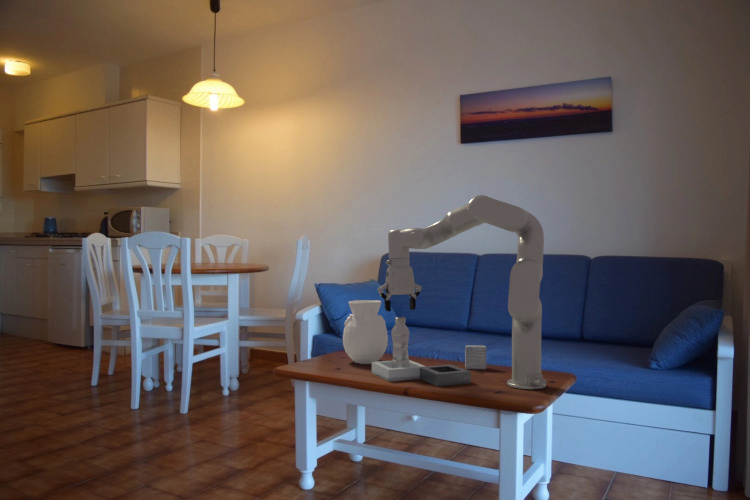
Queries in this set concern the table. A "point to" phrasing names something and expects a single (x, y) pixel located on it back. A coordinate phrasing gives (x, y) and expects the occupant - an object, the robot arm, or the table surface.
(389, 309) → the robot arm
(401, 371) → the tray
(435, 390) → the table surface
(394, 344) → the plastic bottle
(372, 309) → the white vase
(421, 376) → the dark grey storage bin
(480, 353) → the grey upright block
